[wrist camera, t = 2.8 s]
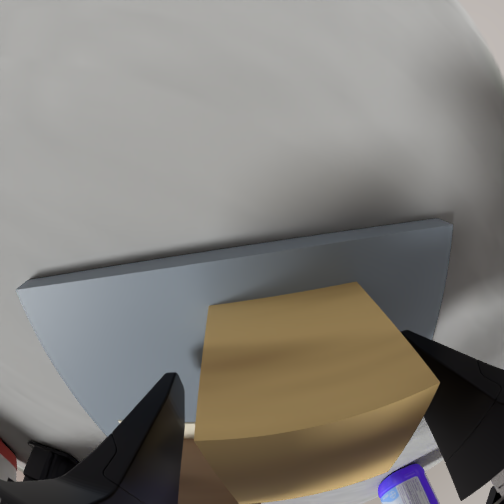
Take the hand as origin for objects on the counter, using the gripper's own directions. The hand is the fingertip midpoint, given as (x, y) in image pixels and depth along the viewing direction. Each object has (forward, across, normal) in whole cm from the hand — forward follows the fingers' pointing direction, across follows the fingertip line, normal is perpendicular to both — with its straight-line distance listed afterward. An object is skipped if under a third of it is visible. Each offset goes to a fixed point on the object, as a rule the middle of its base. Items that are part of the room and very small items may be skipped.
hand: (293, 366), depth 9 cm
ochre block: (+1, 0, 0) cm, 1 cm away
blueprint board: (+2, +2, +4) cm, 5 cm away
